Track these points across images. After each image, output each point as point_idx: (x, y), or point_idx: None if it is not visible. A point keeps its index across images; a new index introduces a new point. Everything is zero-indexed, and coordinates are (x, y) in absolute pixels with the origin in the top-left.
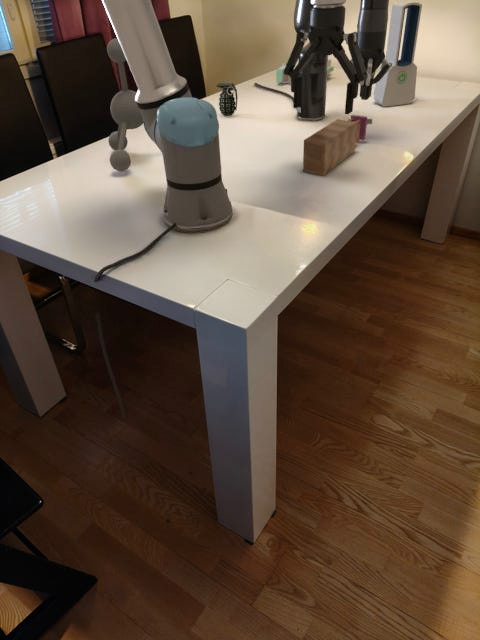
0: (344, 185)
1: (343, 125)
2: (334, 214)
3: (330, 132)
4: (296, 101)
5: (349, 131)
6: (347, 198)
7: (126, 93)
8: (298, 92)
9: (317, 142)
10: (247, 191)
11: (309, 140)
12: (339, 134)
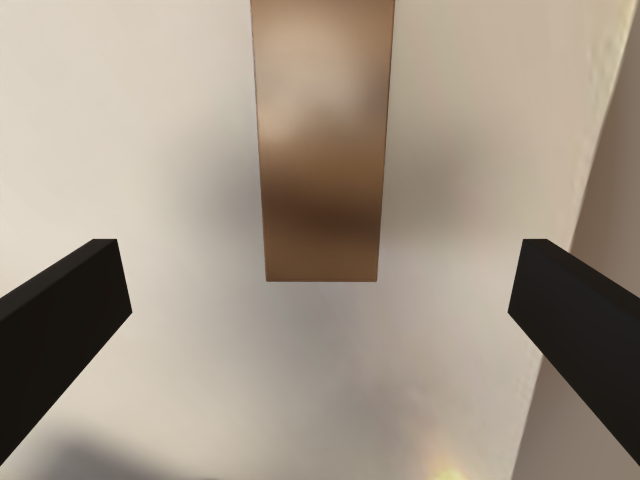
0: (453, 268)
1: None
2: (481, 420)
3: (331, 121)
4: (108, 337)
5: None
6: (487, 339)
7: None
8: (62, 353)
9: (336, 281)
10: (221, 407)
11: (292, 277)
12: (386, 122)
